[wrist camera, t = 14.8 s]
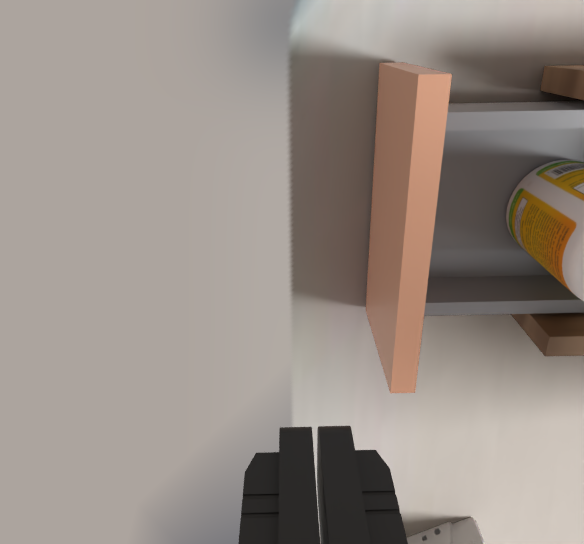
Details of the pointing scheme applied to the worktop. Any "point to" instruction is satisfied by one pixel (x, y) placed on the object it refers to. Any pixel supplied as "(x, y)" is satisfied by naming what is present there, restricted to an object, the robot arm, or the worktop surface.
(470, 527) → the cassette
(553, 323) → the caddy
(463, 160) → the drawer
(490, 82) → the worktop surface
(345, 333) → the worktop surface
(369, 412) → the worktop surface
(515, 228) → the supplement bottle
